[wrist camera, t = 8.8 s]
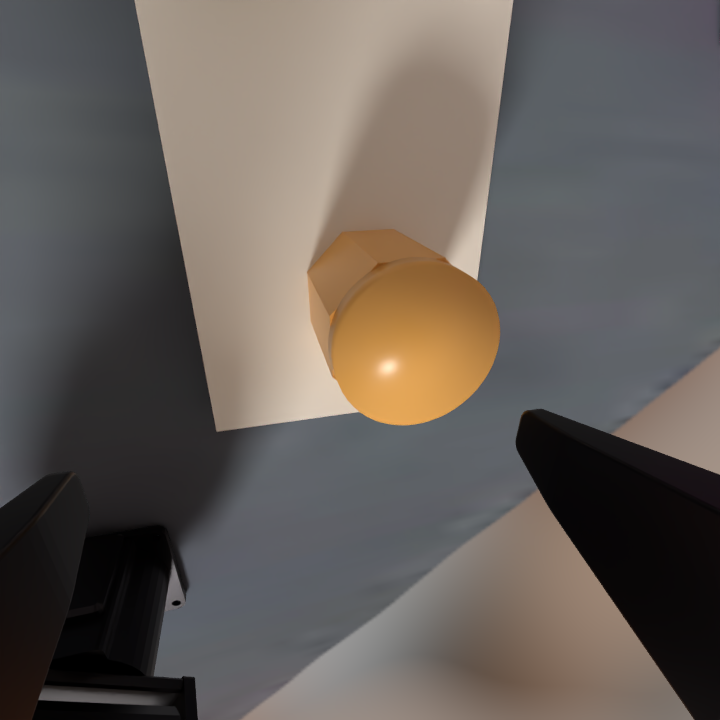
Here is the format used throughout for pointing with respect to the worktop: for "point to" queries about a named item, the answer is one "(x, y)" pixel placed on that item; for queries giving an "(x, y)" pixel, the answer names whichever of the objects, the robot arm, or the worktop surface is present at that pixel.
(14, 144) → the worktop surface
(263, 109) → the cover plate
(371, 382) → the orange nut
